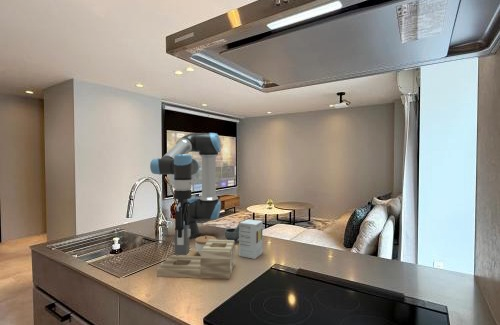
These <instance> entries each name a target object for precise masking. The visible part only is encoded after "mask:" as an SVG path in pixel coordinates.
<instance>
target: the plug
mask: <svg viewBox="0 0 500 325" xmlns="http://www.w3.org/2000/svg"><path fill="white" fill-rule="evenodd" d="M183 229H184V245H177V230H175V229H174V256H188V254H189V252H190V238H189V237H190V236H191V229H189V225H185V221H184V224H183Z"/></svg>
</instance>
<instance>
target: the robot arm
mask: <svg viewBox="0 0 500 325" xmlns="http://www.w3.org/2000/svg"><path fill="white" fill-rule="evenodd" d="M221 147H222V146H221V140H220V137H219V134H218V133H217V132H216V133H215V132H208V133H207V132H193V133H192V132H191V133H188V134H186V135H183V136H182V137H180V138H179V139H178V140H177V141H176V143H175V145H174V146H173V147H172V148H171V149H170V150H168V151H167V152H166V153H165V154H164V155H163V156H162V157H161V158H158V157H157V158H153V159H151V161H150V162H149V163H150V164H149V167H150V168H149V169H150V172H151V173H152V174H154V175H173V189H174V190H173V198H174V199H175V200H177V203H176V206H174V214H175V215H174V222H175V223H174V224H175V225H174V226H175V227H174V231H175V230H177V245H184V229H183V224H184V221H185V225H189V229H191V236H190V237H189V239H193V238H198V237H200V234H201V232H200V228H199V224H198V220H211V221H213V220H218V219H219V217H220V213H221V208H222V201H220V200H219V197H218V196H217V187H216V186H217V185H216V183H217V181H216V180H217V179H216V178H217V175H216V174H217V173H216V172H217V169H216V167H217V166H216V165H217V164H216V163H217V162H216V161H217V160H216V159H217V158H216V157H217V156H219V153H220V152H221V150H222V148H221ZM191 152H193V153H194V152H195V153H198V155H199V157H200V158H201V165H200V163H199V161H197V160H196V159H194V158H193V156H192V154H189V153H191ZM200 167H201V196H200V197H199V200H198V198H197V197H192V193H193V191H192V185H193V184H194V182H193V181H192V180H193V175H195V174H197V173H198V172H199V170H200Z"/></svg>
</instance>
